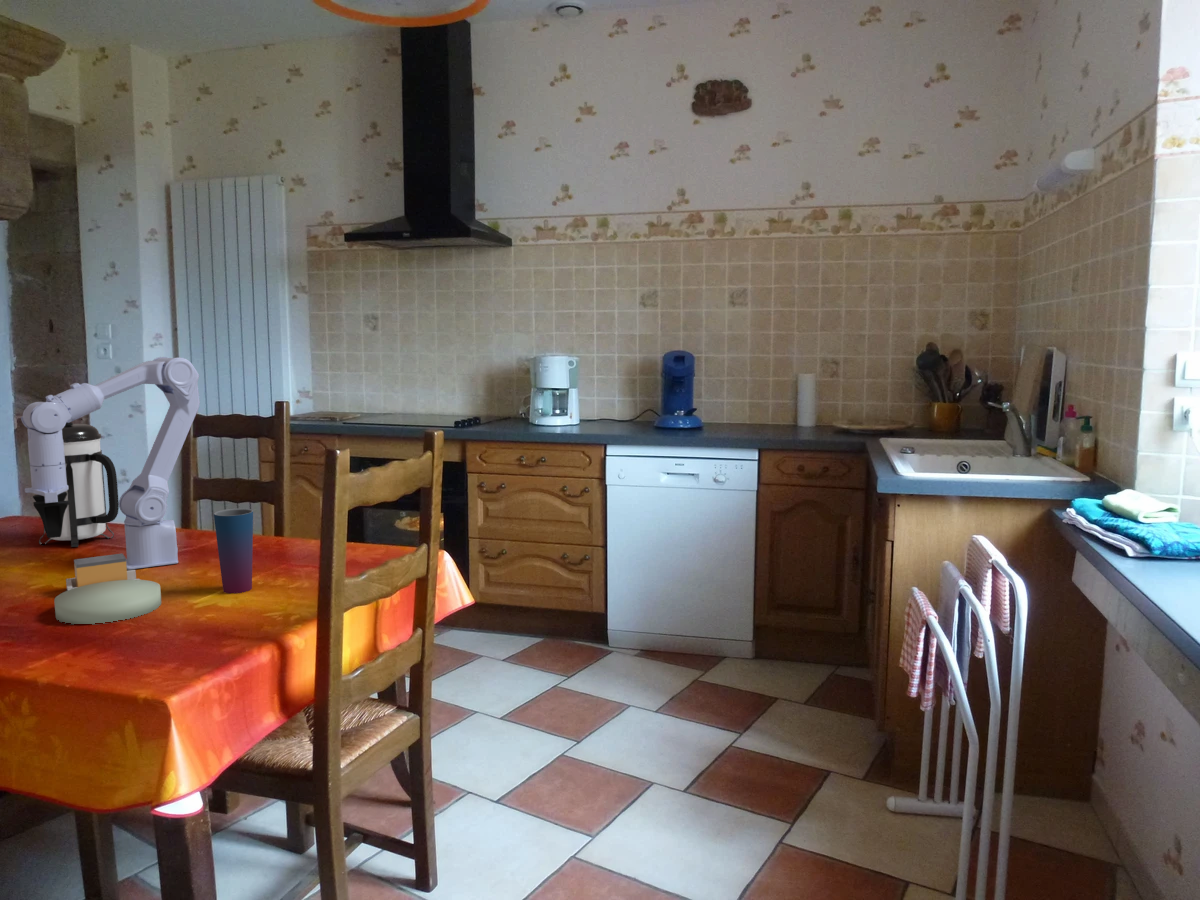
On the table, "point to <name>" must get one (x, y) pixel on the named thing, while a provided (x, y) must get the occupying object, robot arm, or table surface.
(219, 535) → the cup
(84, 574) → the rectangular flat-faced block
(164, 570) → the table surface
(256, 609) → the table surface
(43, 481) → the robot arm
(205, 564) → the table surface
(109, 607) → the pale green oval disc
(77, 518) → the coffee press
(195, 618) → the table surface
